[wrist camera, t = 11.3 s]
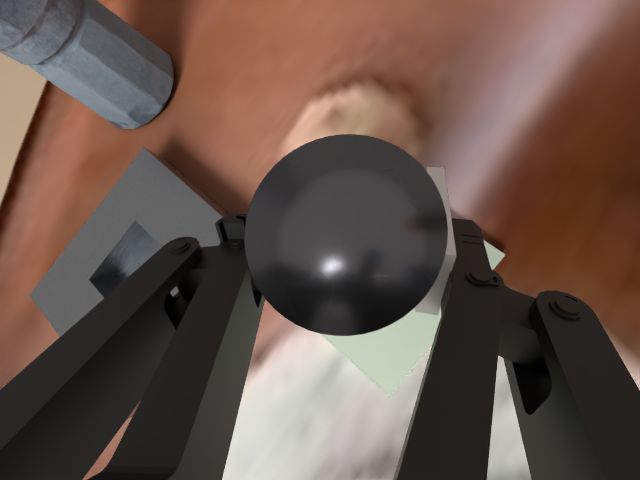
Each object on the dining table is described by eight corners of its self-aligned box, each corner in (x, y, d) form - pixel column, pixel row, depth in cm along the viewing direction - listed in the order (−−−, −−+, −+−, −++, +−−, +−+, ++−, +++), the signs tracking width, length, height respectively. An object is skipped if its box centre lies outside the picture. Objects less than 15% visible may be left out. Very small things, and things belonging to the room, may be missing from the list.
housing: (165, 159, 27) (143, 147, 25) (272, 252, 23) (258, 248, 21) (61, 294, 27) (29, 295, 25) (149, 407, 24) (122, 421, 21)
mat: (360, 160, 23) (359, 157, 22) (501, 255, 19) (505, 254, 19) (265, 280, 23) (262, 280, 22) (389, 394, 20) (389, 397, 19)
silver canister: (362, 213, 19) (325, 100, 7) (424, 259, 18) (495, 208, 6) (316, 270, 19) (209, 247, 8) (374, 320, 18) (354, 383, 6)
